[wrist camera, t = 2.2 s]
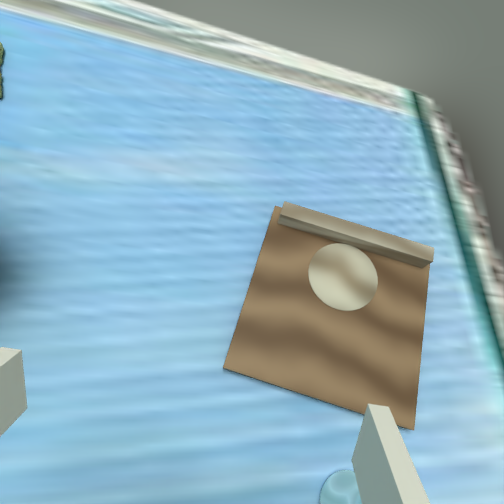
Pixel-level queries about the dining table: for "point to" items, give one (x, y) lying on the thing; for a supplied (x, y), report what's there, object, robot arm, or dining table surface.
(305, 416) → the dining table surface
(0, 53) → the washcloth
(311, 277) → the walnut board
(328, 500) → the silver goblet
